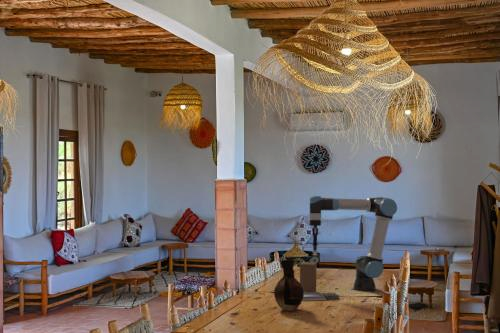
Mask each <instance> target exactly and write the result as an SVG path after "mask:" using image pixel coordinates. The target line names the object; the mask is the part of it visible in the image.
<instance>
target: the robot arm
mask: <svg viewBox="0 0 500 333" xmlns="http://www.w3.org/2000/svg"><path fill="white" fill-rule="evenodd" d="M338 210H340V211H341V210H342V211H343V210H344V211H366V212H367V213H374V217H376V220H375V225H374V228H373V233H372V237H371V242H370V246H369V251H368V253H367V254H366V255H358V256H356V258H355V275H356V276H355V280H354V283H353V286H352V287H353V290H356V291H360V290H362V292H370V291H369V290H373V291H375V289H377V288H376V287H377V286H376V282H375V280H374V279H377V278H379V277H381V275H382V274H383V272H384V265H383V261H384V259H383V257H382V255H383V251H384V246H385V243H386V236H387V233H388V228H389V224H390V222H391V221H392V220H393V217H394V215H395V214H396V213H397V211H398V204H397V203H396V201H395V200H394V199H392V198H389V197H382V196H381V197H379V196H378V197H367V198H366V199H365V198H363V199H361V198H358V199H357V198H333V197H331V198H330V197H322V196H319V195H311V196H310V198H309V214H308V216H309V226H312V228H311V229H312V230H311V231H312V236H313V237H312V239H313V240H312V256H318V246H319V244H318V235H319V228H318V226H321V225H322V211H338Z"/></svg>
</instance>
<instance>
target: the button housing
mask: <svg viewBox="0 0 500 333" xmlns="http://www.w3.org/2000/svg"><path fill="white" fill-rule="evenodd" d="M328 293H329V292H325V293H324V292H323V293H322V295H324V296H325V298H326V300H339V298H340V295H339V294H338V293H336V292H333V293H334V295H328Z"/></svg>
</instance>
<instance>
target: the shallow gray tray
mask: <svg viewBox="0 0 500 333" xmlns="http://www.w3.org/2000/svg"><path fill="white" fill-rule="evenodd" d="M326 300H327V299H326V298H325V296H324V295H323V293H321V292H320V291H316V292H304V296H303V300H302V302H303V301H307V302H308V301H326Z"/></svg>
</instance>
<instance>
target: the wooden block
mask: <svg viewBox="0 0 500 333" xmlns="http://www.w3.org/2000/svg"><path fill="white" fill-rule="evenodd" d="M317 263H318V262H312V261H302V262H300V264H299V283H300V284H301V286H302V288H303V292H317Z"/></svg>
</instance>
